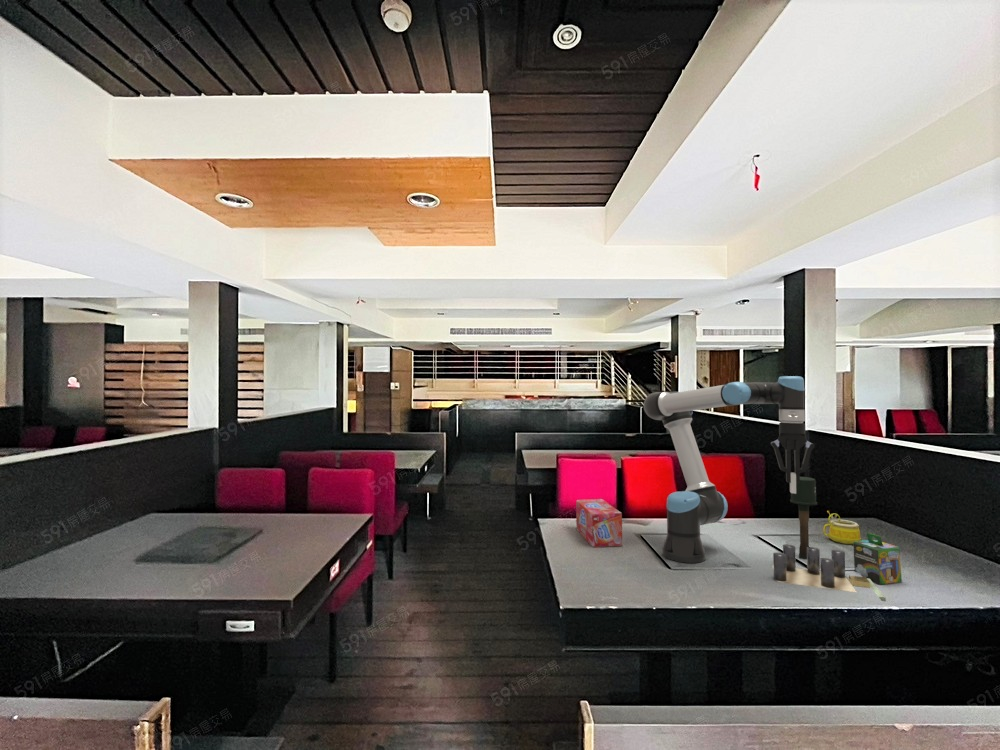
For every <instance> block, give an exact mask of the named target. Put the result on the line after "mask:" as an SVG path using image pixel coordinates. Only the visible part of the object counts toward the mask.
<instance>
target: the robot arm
mask: <svg viewBox="0 0 1000 750" xmlns="http://www.w3.org/2000/svg"><path fill="white" fill-rule="evenodd" d="M805 392H806V389H805V379H804V377H802V376H798V375H795V376H794V375H793V376H791V375H790V376H788V375H783V376H779V377H778V379H777V381H776V382H768V381H767V382H762V381H761V382H758V381H757V382H755V381H753V382H752V381H751V382H745V381H743V382H742V381H732V382H729V383H726V384H721V385H716V386H715V385H714V386H709V387H701V388H696V389H692V390H691V389H690V390H685V391H655V392H652V393H650V394H648V395H647V396H646V397H645V398H644V399H645V400H644V402H643V411H644V413H645V414H646V415H647V417H649V418H650V419H653V420H655V421H662V424H663V426H664V428H665V429H668V431H669V434H670V436H671V440H672V443H673V446H674V449H675V452H676V455H677V458H678V462H679V465H680V467H681V471H682V473H683V477H684V480H685V483H686V486H687V487H686V489H685V490H682V491H675V492H674V491H673V492H672V493H670V494H669V495H668V496H667V498H666V528H667V529H666V532H667V534H666V536H665V539H664V544H663V546H662V556H663V555H664V556H665V557H664V556H663V557H664V558H666V557H667V558H666V559H668V558H669V560H670V559H671V560H670V561H674V560H675V561H674V562H678V563H684V562H685V563H686V564H696V563H702V562H704V561H706V559H707V558H706V557H707V556H706V550H705V547H704V544H703V541H702V539H701V526H705V525H708V524H714V523H717V522H719V521H722V520H723V519H724V518H725V517H726V515H727V514H728V508H729V507H728V501H727V499H726V497H725V496H724V494H722V493H721V492H720V491H717V488H716V484H714V483H712V482H711V481H710V480H709V477H708V474H707V470H706V468H705V465H704V462H703V459H702V455H701V453H700V450H699V447H698V443H697V441H696V438H695V435H694V432H693V429H692V426H691V423H692V421H693V420H694V419H693V417H692V415H693V413H694V412H693V411H697V410H698V411H699V410H706V409H714V408H721V407H722V408H723V407H729V406H731V407H733V406H739V405H763V404H764V405H769V404H771V405H778V421H780V422H779V424H778V434H779V435H778V437H777V439H776V440H774V441H771V442H770V445H771V446H772V448H773V450H774V453H775V456H776V460H777V464H778V467H779V468H778V469H780V470H781V471H783V472H784V473H785V481H786V482H787V483H789V492H790V494H791V493H794V494H796V483H799V482H800V477H801V473H805V472H807V468H808V465H809V462H810V459H811V458H810V457H811V454H812V451H813V449H815V446H816V445H815V443H812V442H810V441H808V438H807V437H806V423H804V422H805V421H806V410H805V409H806V408H805V407H806V406H805ZM780 445H781V446H782V447H783V448H784V450H785V465H784V461H783V459H782V454H781V452H780V448H779V447H780ZM804 446H805V448H806V449H805V451H804V455H803V459H802V462H801V463H800V459H801V457H800V455H801V449H802V448H803V447H804ZM792 450H793V454H794V455H793V456H794V459H793V461H794V462H793V463H794V472H792V466H791V465H792V463H791V462H792V461H791V460H792V459H791V458H792V457H791V455H792V454H791V453H792ZM800 465H801V466H800Z"/></svg>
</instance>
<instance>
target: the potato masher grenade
mask: <svg viewBox="0 0 1000 750" xmlns="http://www.w3.org/2000/svg"><path fill="white" fill-rule="evenodd" d="M816 484H817V480H816V478H813V477H808V476H800V482H799V483H796V494H794V493H791V492H790V499H789V502H790V503H792V504H795V505H797V507H798V521H799V542H800V543H799V549H798V550H799V551H798V552H799V554H798V558H799V559H802V560H807V547H810V544H809V543H810V541H809V540H810V539H809V521H810V507H811V506H817V505H818V502H817V485H816Z"/></svg>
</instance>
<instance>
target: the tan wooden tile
mask: <svg viewBox="0 0 1000 750" xmlns="http://www.w3.org/2000/svg"><path fill="white" fill-rule="evenodd" d="M848 580H849V582H850V583H851V585H852V586H853V587H860V588H866V589H867V588H868V589H871V587H870V582H869V581H868V579H867V578H866V577H862V576H858V575H857V576H856V575H848Z"/></svg>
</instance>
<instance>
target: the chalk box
mask: <svg viewBox="0 0 1000 750" xmlns="http://www.w3.org/2000/svg"><path fill="white" fill-rule="evenodd" d="M866 536H867V537H866V538H867V539H864V540H863V539H862V540H861V541H856V542H853V544H852V547H853V562H854V566H853V567H854V572H855V573H858V574H859V575H860V577H866V578H869V579H870V580H871V581H872V582H873V583H874V584H875V585H879V586H881V585H888V584H889V585H890V584H897V583H902V582H903V581H902V566H901V565H902V564H901V552H900V551H901V548H900V546H897V545H894V544H891V543H888V542H884V541H882V537H881V535H878V534H874V533H871V532H866ZM873 538H874V539H873Z"/></svg>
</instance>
